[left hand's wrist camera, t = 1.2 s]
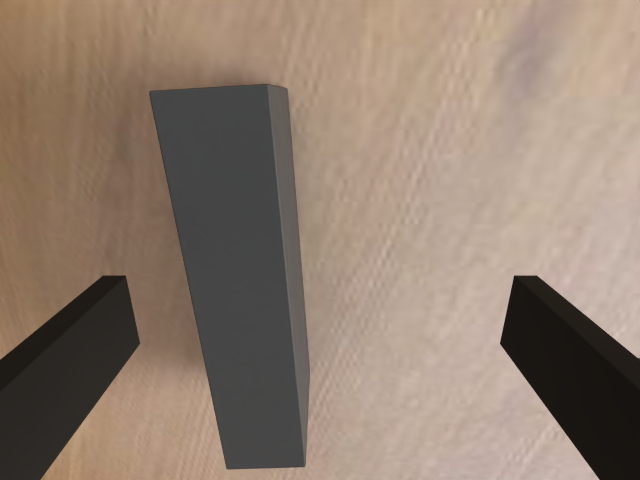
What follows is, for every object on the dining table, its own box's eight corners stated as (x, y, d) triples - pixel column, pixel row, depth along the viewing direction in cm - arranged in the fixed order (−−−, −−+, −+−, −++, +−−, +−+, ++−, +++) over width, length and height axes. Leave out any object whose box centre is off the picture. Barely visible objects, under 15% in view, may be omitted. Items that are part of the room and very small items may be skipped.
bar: (207, 92, 25) (147, 90, 16) (287, 87, 25) (268, 83, 16) (250, 375, 33) (226, 470, 25) (310, 372, 33) (305, 467, 25)
